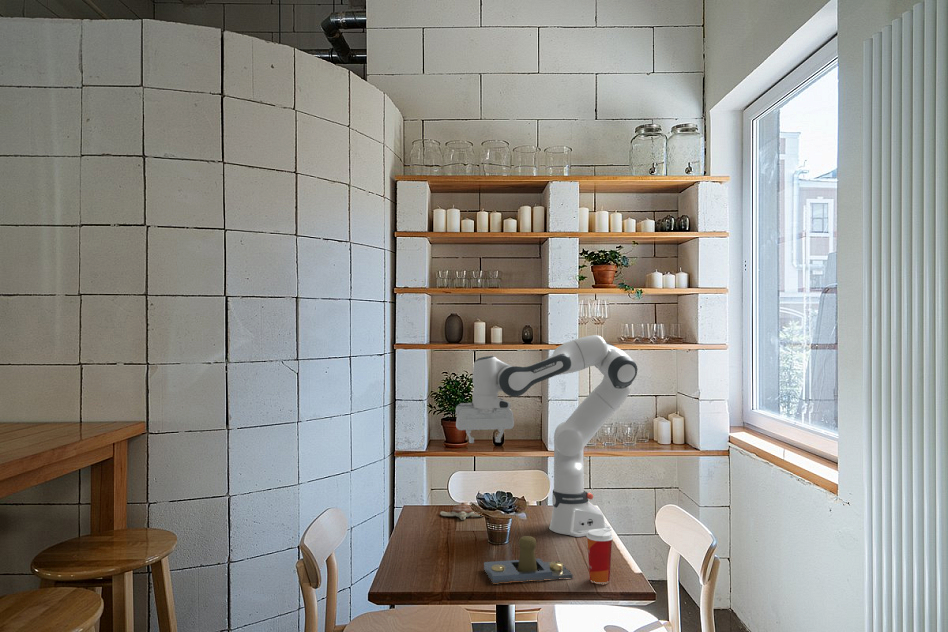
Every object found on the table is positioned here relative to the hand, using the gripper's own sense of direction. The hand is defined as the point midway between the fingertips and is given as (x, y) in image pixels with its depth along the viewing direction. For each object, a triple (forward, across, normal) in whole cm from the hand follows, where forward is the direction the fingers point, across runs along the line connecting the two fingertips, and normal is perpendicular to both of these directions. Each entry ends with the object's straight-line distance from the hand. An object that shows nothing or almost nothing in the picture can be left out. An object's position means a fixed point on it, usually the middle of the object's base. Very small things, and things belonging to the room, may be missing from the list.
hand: (484, 442), depth 217 cm
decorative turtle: (+35, -1, +33) cm, 48 cm away
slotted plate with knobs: (+34, +6, -32) cm, 47 cm away
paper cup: (+34, +25, -41) cm, 59 cm away
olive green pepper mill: (+34, +6, -32) cm, 47 cm away
